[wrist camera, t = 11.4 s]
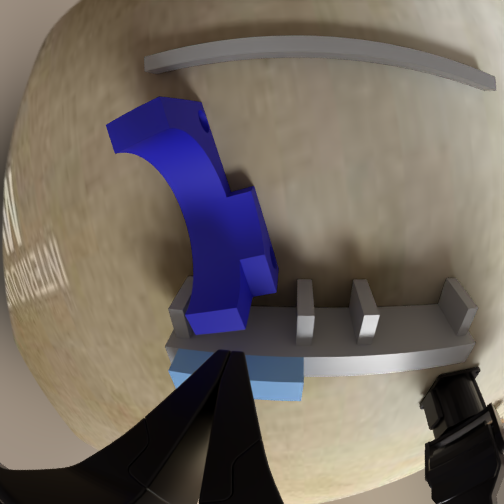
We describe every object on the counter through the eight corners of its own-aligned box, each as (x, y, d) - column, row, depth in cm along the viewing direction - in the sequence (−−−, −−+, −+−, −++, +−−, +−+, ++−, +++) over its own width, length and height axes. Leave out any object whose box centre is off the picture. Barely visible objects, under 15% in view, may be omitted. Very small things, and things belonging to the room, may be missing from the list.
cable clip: (278, 267, 19) (272, 325, 14) (219, 279, 20) (195, 335, 15) (225, 94, 15) (192, 82, 9) (160, 119, 16) (105, 124, 10)
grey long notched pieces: (483, 77, 10) (550, 76, 4) (444, 321, 19) (473, 380, 13) (155, 60, 14) (86, 41, 7) (191, 321, 22) (162, 386, 16)
